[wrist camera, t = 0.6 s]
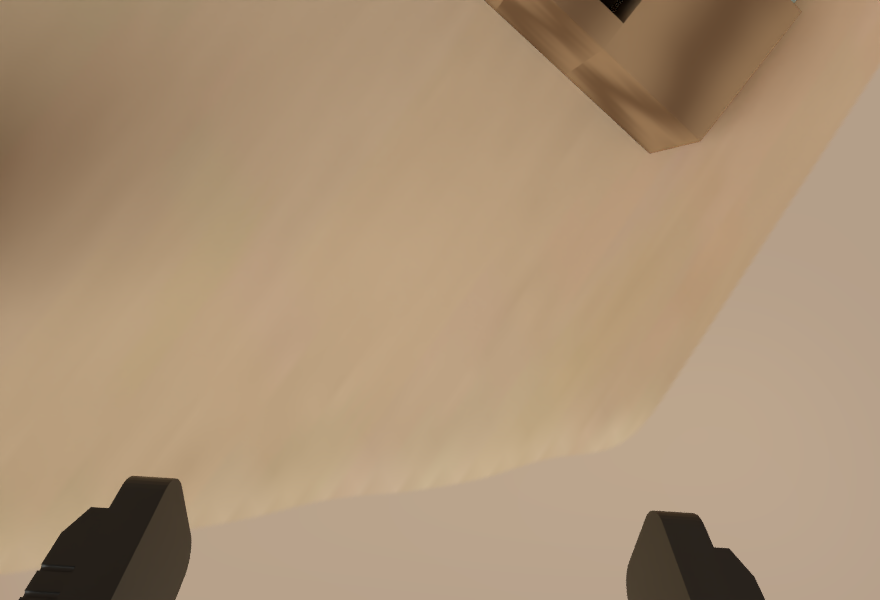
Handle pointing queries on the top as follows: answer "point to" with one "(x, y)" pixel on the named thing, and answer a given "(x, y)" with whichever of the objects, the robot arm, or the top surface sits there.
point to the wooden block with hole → (655, 56)
